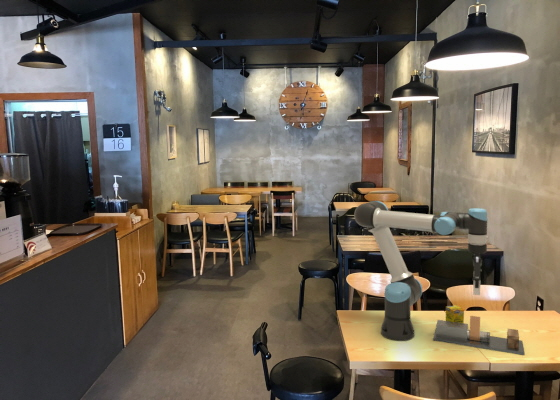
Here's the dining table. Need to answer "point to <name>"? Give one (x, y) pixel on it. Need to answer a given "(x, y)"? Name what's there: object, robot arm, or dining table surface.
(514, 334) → the socket block
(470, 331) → the clear cylinder with block
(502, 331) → the dining table surface
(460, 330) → the base
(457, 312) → the supplement box
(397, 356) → the dining table surface
